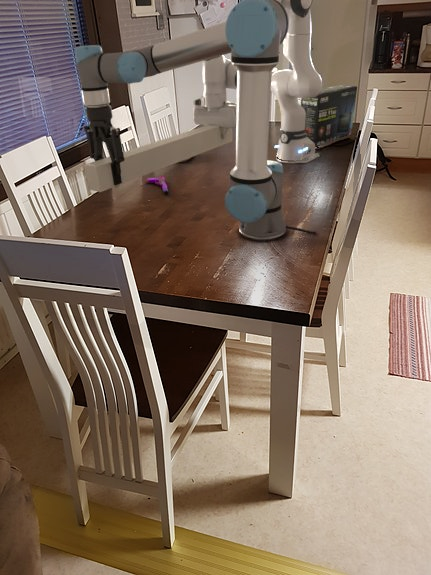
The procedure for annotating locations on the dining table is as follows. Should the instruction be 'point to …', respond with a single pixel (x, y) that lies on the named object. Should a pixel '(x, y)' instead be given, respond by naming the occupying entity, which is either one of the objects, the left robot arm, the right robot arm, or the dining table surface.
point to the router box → (330, 113)
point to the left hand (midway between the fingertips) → (111, 182)
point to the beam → (155, 156)
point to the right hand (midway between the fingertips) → (216, 137)
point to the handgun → (161, 182)
